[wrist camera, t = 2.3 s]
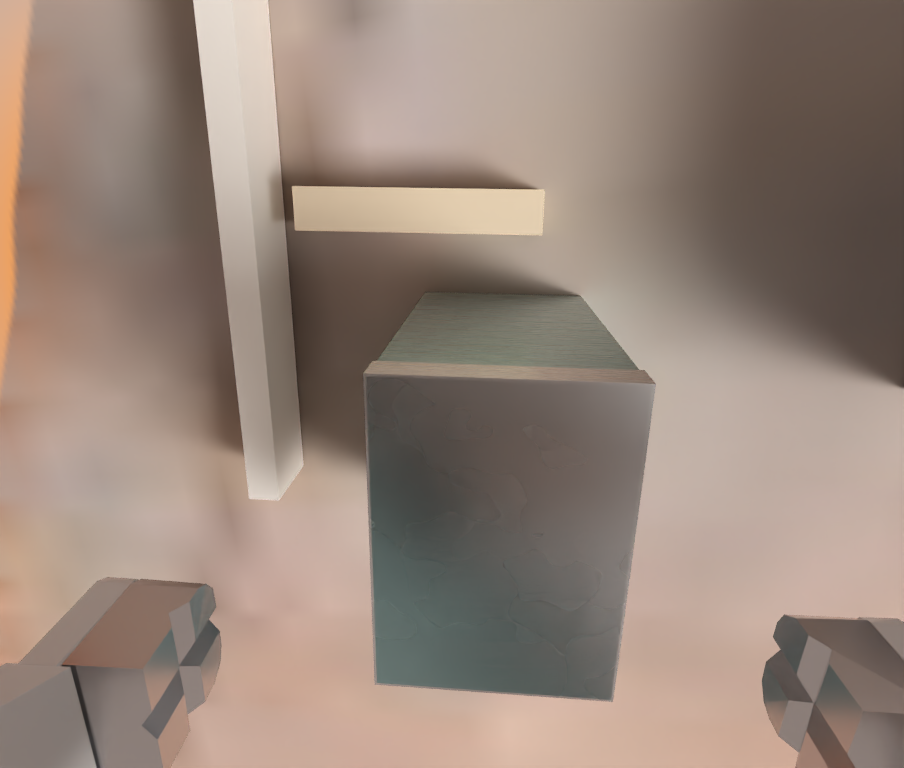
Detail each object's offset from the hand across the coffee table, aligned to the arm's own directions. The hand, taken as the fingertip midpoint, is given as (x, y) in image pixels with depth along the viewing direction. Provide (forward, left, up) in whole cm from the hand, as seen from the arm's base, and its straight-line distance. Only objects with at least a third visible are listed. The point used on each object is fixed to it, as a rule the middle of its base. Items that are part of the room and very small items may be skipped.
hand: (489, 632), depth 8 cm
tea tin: (-1, 0, -12) cm, 12 cm away
